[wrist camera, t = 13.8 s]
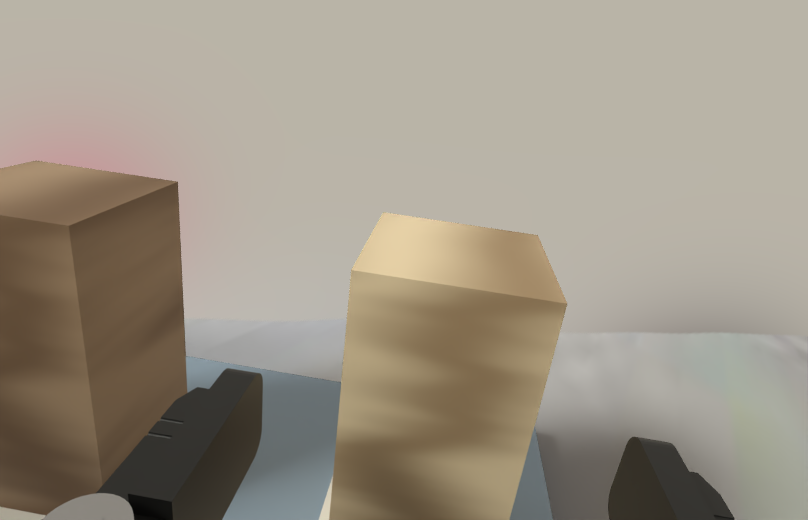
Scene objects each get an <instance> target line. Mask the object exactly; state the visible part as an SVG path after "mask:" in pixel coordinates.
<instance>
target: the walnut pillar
mask: <svg viewBox="0 0 808 520" xmlns="http://www.w3.org/2000/svg"><path fill="white" fill-rule="evenodd" d="M178 201H179V199H178V182H176V181H169V180H162V179H156V178H149V177H142V176H135V175H129V174H122V173H116V172H109V171H102V170H95V169H89V168H82V167H75V166H68V165H62V164H55V163H48V162H42V161H32V162H28V163H23V164H19V165H14V166H10V167H5V168H1V169H0V507H4V508H9V509H15V510H20V511H25V512H30V513H35V514H40V515H47V514H48V513H50V512H51V511H53V510H54V509H55V508H57V507H59V506H60V505H62V504H64V503H66V502H68V501H70V500H72V499H75V498H78V497H81V496H85V495H89V494H95V493H96V492H97V491H98V490H99V489H100V488H101V487H102V485H103V484H104V483H105V482H106V481H107V480H108V478H109V477H110V476H111V475H112V474H113V473H114V471H115V470H116V469H117V468H118V467H119V466H120V464H121V463H122V462H123V461H124V460H125V459H126V457H127V456H128V455H129V454H130V453H131V452H132V450H133V449H134V448H135V447H136V446H137V445H138V443H139V442H140V441H141V440H142V439H143V438H144V436H145V435H146V436H147V435H148V432H149V431H150V429H151V428H152V427H153V426H154V425H155V424H156V422H157V421H160V419H161V417H162V415H163V414H164V413H165V412H166V411H167V409H168V408H169V407H170V406H171V405H172V404H173V402H174V401H175V400H177V399H178V398H180V397H182V396H183V395H185V394H187V374H186V352H185V330H184V308H183V287H182V265H181V243H180V222H179V202H178Z"/></svg>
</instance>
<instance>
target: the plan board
mask: <svg viewBox="0 0 808 520" xmlns="http://www.w3.org/2000/svg"><path fill="white" fill-rule="evenodd" d="M226 368H231V369H237V370H243V371H249V372H255V373H260V374H261V375H262V378H263V402H262V433H261V439H260V443H259V447H258V450H257V453H256V456H255V458H254V460H253V462H252V464H251V466H250V468H249V470H248V471H247V473H246V475H245V477H244V479H243V481H242V483H241V485H240V487H239V489H238V490H237V492H236V494H235V496H234V498H233V500H232V502H231V504H230V506H229V507H228V509H227V511H226V513H225V515H224V517H223V519H222V520H329V515H330V504H331V493H332V481H333V470H334V459H335V448H336V436H337V425H338V414H339V403H340V392H341V382H335V381H330V380H324V379H318V378H312V377H306V376H300V375H294V374H288V373H282V372H277V371H271V370H265V369H259V368H253V367H247V366H241V365H235V364H230V363H224V362H218V361H212V360H206V359H200V358H194V357H188V356H186V374H187V393H188V392H190V391H191V390H193V389H195V388H196V387H201V388H206V389H210V387H211V386H212V385H213V384H214V382H215V381H216V380H217V378H218V377H219V376H220V375H221V373H222V372H223V371H224V370H225V369H226ZM45 516H46V515H40V514H35V513H30V512H25V511H20V510H15V509H9V508H4V507H0V520H42V519H43V518H44V517H45ZM509 520H553V517H552V512H551V507H550V502H549V497H548V491H547V486H546V481H545V476H544V471H543V466H542V461H541V456H540V450H539V445H538V440H537V435H536V430H535V426H534V430H533V433H532V437H531V441H530V445H529V448H528V452H527V456H526V460H525V463H524V467H523V471H522V475H521V478H520V482H519V486H518V489H517V493H516V497H515V501H514V504H513V508H512V512H511V516H510V519H509Z"/></svg>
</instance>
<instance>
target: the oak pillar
mask: <svg viewBox="0 0 808 520" xmlns="http://www.w3.org/2000/svg"><path fill="white" fill-rule="evenodd" d="M566 307H567V302H566V300H565V297H564V295H563V293H562V290H561V288H560V286H559V283H558V281H557V279H556V276H555V274H554V272H553V270H552V267H551V265H550V263H549V260H548V258H547V256H546V253H545V251H544V249H543V246H542V244H541V242H540V240H539V237H538V235H533V234H525V233H519V232H512V231H505V230H498V229H492V228H485V227H479V226H472V225H465V224H458V223H452V222H445V221H438V220H432V219H425V218H418V217H411V216H405V215H398V214H391V213H383V214H382V215H381V218H380V219H379V221H378V223H377V225H376V226H375V228H374V230H373V232H372V234H371V235H370V237H369V239H368V241H367V243H366V244H365V246H364V248H363V250H362V252H361V253H360V255H359V257H358V259H357V261H356V263H355V264H354V266H353V268H352V270H351V279H350V290H349V302H348V313H347V324H346V335H345V347H344V358H343V369H342V380H341V392H340V403H339V414H338V425H337V436H336V448H335V459H334V470H333V481H332V493H331V504H330V515H329V520H509V519H510V516H511V512H512V508H513V504H514V501H515V497H516V493H517V489H518V486H519V482H520V478H521V475H522V471H523V467H524V463H525V460H526V456H527V452H528V448H529V445H530V441H531V437H532V433H533V430H534V426H535V422H536V419H537V415H538V411H539V407H540V404H541V400H542V396H543V392H544V389H545V385H546V381H547V377H548V374H549V370H550V366H551V363H552V359H553V355H554V351H555V348H556V344H557V340H558V336H559V333H560V329H561V325H562V321H563V318H564V314H565V310H566Z"/></svg>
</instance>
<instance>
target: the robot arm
mask: <svg viewBox="0 0 808 520" xmlns="http://www.w3.org/2000/svg"><path fill="white" fill-rule="evenodd" d="M262 402H263V378H262V375H261V374H260V373H255V372H249V371H243V370H237V369H231V368H226V369H225V370H224V371H223V372H222V373H221V375H220V376H219V377H218V378H217V380H216V381H215V382H214V384H213V385H212V386H211V387H210V389H206V388H201V387H196V388H195V389H193V390H191V391H190V392H188V393H187V394H185V395H183V396H182V397H180V398H178V399H177V400H175V401H174V402H173V404H172V405H171V406H170V407H169V408H168V409H167V411H166V412H165V413H164V414H163V415H162V417H161V419H160V421H157V422H156V424H155V425H154V426H153V427H152V428H151V429H150V431H149V432H148V435H147V436H146V435H145V436H144V438H143V439H142V440H141V441H140V442H139V443H138V445H137V446H136V447H135V448H134V449H133V450H132V452H131V453H130V454H129V455H128V456H127V457H126V459H125V460H124V461H123V462H122V463H121V464H120V466H119V467H118V468H117V469H116V470H115V471H114V473H113V474H112V475H111V476H110V477H109V478H108V480H107V481H106V482H105V483H104V484H103V485H102V487H101V488H100V489H99V490H98V491H97V492H96V493H95V494H89V495H85V496H81V497H78V498H75V499H72V500H70V501H68V502H66V503H64V504H62V505H60V506H59V507H57V508H55V509H54V510H53V511H51V512H50V513H48V514H47V515H46V516H45V517H44V518H43V519H42V520H222V519H223V517H224V515H225V513H226V511H227V509H228V507H229V506H230V504H231V502H232V500H233V498H234V496H235V494H236V492H237V490H238V489H239V487H240V485H241V483H242V481H243V479H244V477H245V475H246V473H247V471H248V470H249V468H250V466H251V464H252V462H253V460H254V458H255V456H256V453H257V450H258V447H259V443H260V439H261V433H262ZM608 511H609V519H610V520H734V517H733V515H732V514H731V512H730V510H729V509H728V507H727V505H726V504H725V502H724V500H723V499H722V497H721V495H720V494H719V493H718V492H717V491H716V490H715V489H714V488H713V487H712V486H711V485H710V484H709V483H708V482H706V481H705V480H704V479H703V478H702V477H701V476H700V475H699V474H698V473H695V472H689V471H688V469H687V467H686V465H685V464H684V462H683V460H682V458H681V457H680V455H679V453H678V451H677V449H676V448H675V446H674V445H673V444H671V443H668V442H662V441H656V440H650V439H644V438H638V437H632V438H631V439H630V440H629V441H628V443H627V445H626V448H625V451H624V453H623V456H622V459H621V462H620V465H619V467H618V470H617V473H616V476H615V479H614V481H613V484H612V487H611V490H610V494H609V502H608Z"/></svg>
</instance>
